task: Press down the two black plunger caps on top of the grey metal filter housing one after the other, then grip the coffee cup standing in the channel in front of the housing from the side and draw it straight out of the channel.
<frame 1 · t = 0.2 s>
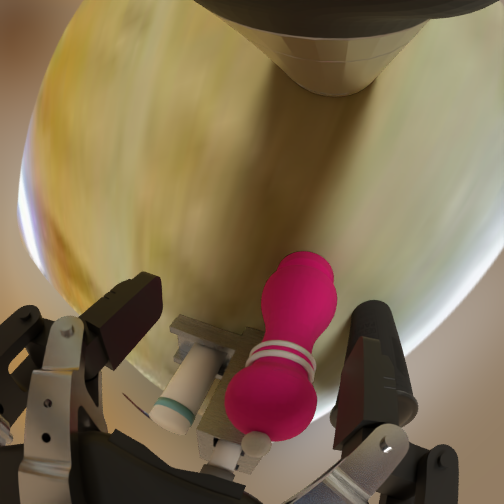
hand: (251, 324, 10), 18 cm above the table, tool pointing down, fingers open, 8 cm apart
drinking cup: (371, 315, 29), on the table
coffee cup: (210, 349, 38), point 1 cm above the table, touching filter housing
pepper mill: (305, 275, 29), on the table
plunger 1: (225, 457, 21), point 17 cm above the table, slide at 0.0 cm
filter housing: (264, 361, 37), on the table
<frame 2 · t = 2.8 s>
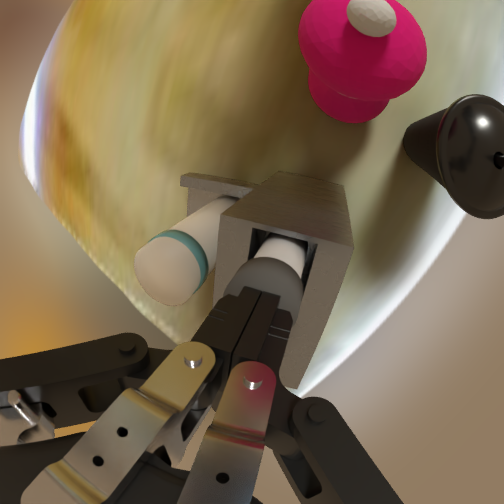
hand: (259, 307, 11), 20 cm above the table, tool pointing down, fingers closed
drinking cup: (423, 143, 22), on the table
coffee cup: (229, 215, 31), point 1 cm above the table, touching filter housing
pepper mill: (347, 91, 22), on the table
plunger 1: (276, 270, 14), point 17 cm above the table, slide at 0.6 cm, touching gripper
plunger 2: (251, 374, 17), point 17 cm above the table, slide at 0.0 cm
filter housing: (300, 229, 30), on the table
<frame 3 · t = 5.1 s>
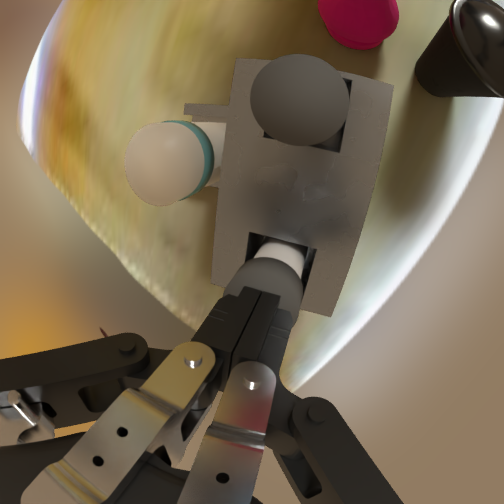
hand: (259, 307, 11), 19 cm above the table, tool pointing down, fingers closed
drinking cup: (434, 75, 18), on the table
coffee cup: (236, 146, 26), point 1 cm above the table, touching filter housing
pepper mill: (355, 26, 18), on the table
plunger 1: (307, 107, 10), point 16 cm above the table, slide at 1.4 cm
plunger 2: (276, 270, 14), point 16 cm above the table, slide at 1.2 cm, touching gripper
filter housing: (314, 160, 26), on the table
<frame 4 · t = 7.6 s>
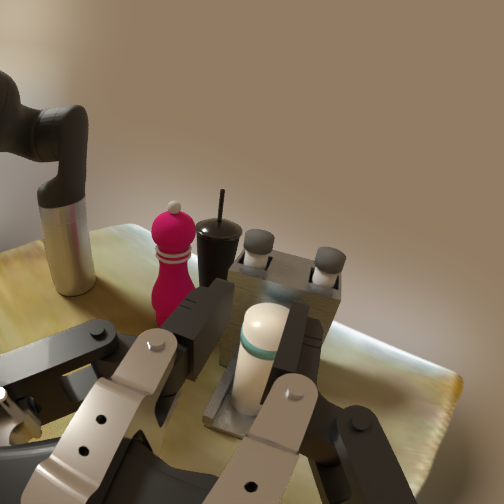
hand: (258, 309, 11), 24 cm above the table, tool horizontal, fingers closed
drinking cup: (213, 296, 50), on the table
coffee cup: (251, 399, 30), point 1 cm above the table, touching filter housing
pepper mill: (175, 320, 42), on the table
plunger 1: (255, 261, 31), point 16 cm above the table, slide at 1.4 cm
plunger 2: (324, 279, 29), point 16 cm above the table, slide at 1.4 cm
filter housing: (265, 360, 38), on the table
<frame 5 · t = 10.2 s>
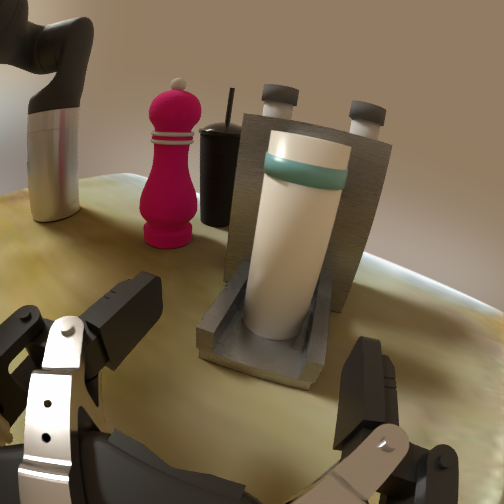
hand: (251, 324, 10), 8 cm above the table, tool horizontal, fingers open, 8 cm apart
drinking cup: (216, 222, 41), on the table
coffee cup: (273, 318, 22), point 1 cm above the table, touching filter housing
pepper mill: (167, 239, 34), on the table
plunger 1: (276, 120, 23), point 16 cm above the table, slide at 1.4 cm
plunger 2: (362, 139, 21), point 16 cm above the table, slide at 1.4 cm
filter housing: (287, 279, 29), on the table
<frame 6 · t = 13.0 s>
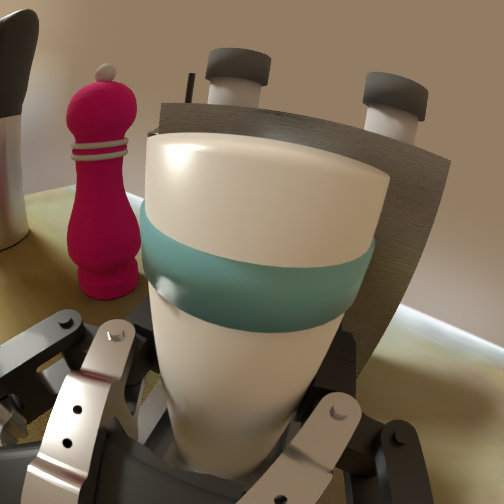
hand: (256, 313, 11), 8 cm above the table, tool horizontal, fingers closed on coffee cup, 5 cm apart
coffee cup: (222, 440, 12), point 1 cm above the table, touching filter housing, gripper
pepper mill: (109, 282, 24), on the table
plunger 1: (231, 112, 13), point 16 cm above the table, slide at 1.4 cm
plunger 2: (387, 143, 11), point 16 cm above the table, slide at 1.4 cm
filter housing: (259, 355, 19), on the table
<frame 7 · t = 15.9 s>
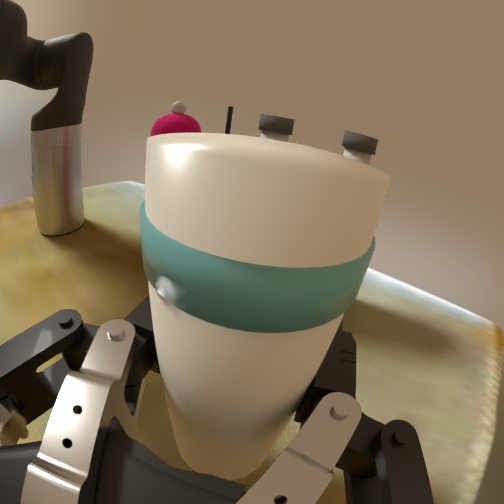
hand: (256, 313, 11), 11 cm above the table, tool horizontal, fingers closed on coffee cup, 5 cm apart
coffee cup: (222, 440, 12), point 4 cm above the table, touching gripper
pepper mill: (171, 254, 36), on the table
plunger 1: (272, 149, 25), point 16 cm above the table, slide at 1.4 cm
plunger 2: (354, 167, 23), point 16 cm above the table, slide at 1.4 cm
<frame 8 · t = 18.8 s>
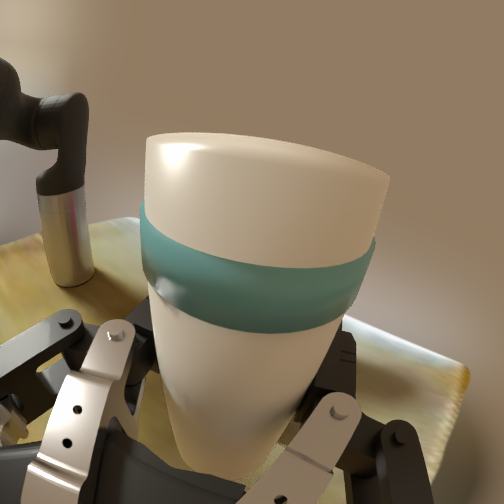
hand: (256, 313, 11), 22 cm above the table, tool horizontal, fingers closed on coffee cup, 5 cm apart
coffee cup: (222, 440, 12), point 14 cm above the table, touching gripper
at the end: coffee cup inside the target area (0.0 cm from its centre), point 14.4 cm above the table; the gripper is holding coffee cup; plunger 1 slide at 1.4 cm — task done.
